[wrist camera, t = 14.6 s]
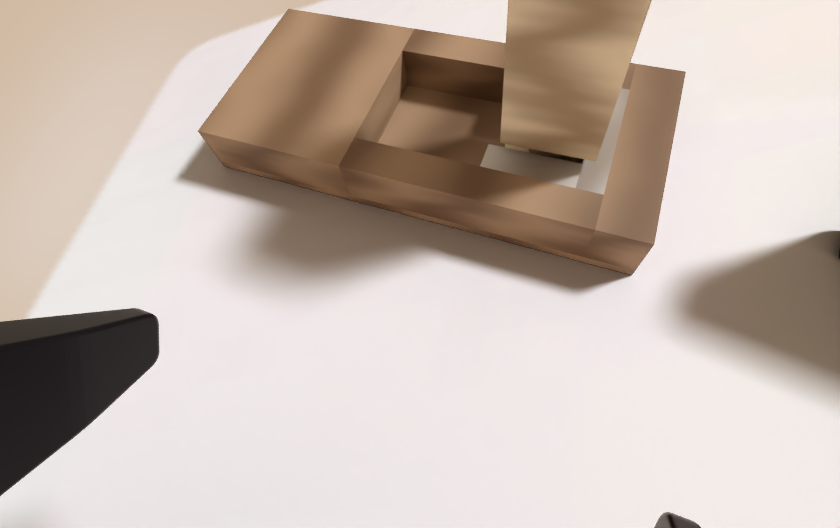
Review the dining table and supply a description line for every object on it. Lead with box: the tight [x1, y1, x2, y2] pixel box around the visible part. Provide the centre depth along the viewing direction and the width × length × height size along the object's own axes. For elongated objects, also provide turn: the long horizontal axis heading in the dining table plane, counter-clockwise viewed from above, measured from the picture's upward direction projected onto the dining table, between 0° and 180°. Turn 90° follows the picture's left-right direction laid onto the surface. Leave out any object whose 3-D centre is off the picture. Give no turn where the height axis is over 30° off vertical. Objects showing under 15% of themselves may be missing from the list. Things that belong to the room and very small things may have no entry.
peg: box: [500, 0, 651, 164], centre depth 19 cm, size 5×5×15 cm
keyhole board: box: [198, 9, 685, 275], centre depth 26 cm, size 24×11×3 cm, turn 69°
